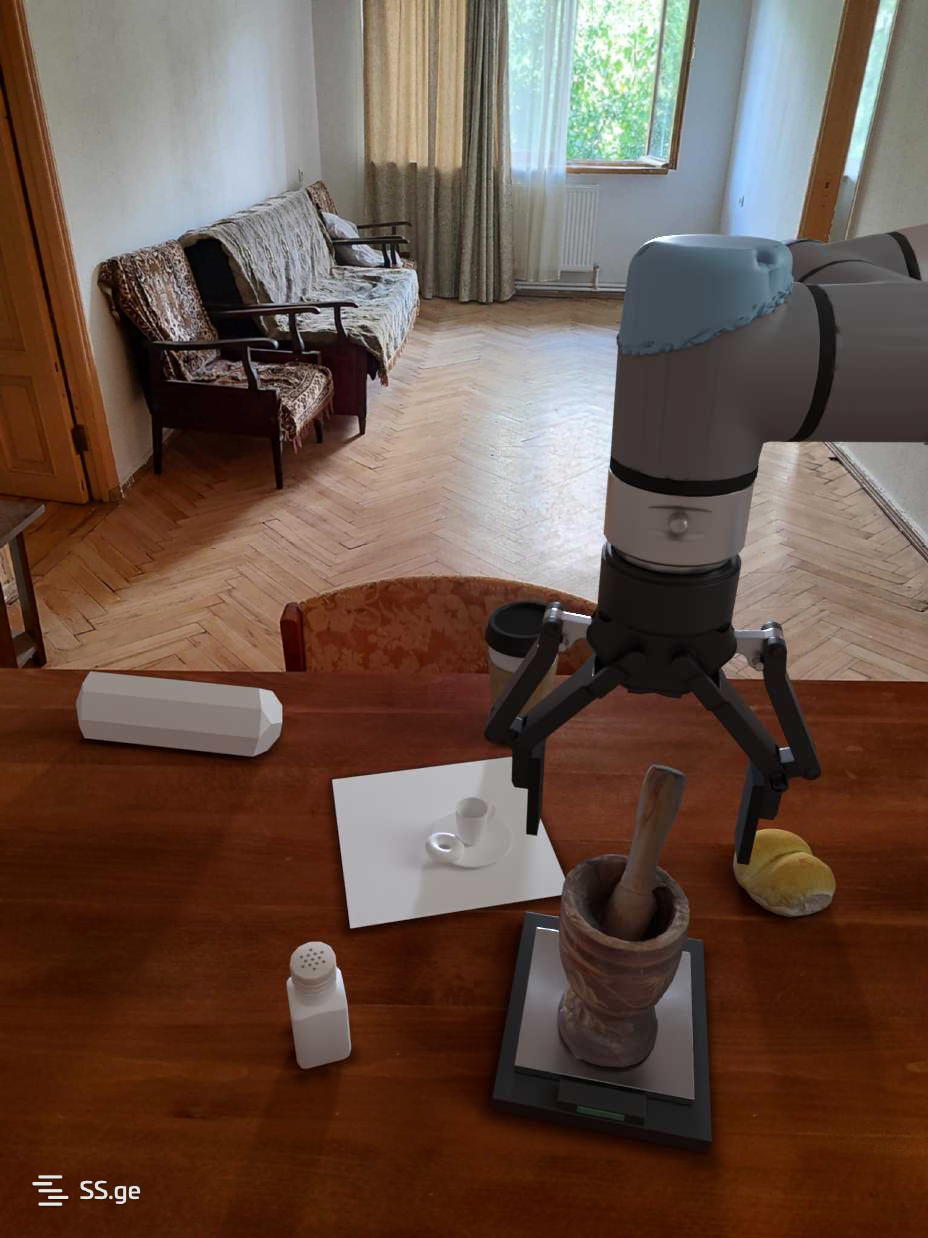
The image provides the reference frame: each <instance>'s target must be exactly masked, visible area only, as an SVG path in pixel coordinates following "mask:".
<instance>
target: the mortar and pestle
mask: <svg viewBox="0 0 928 1238" xmlns="http://www.w3.org/2000/svg"><path fill="white" fill-rule="evenodd" d="M686 779H687V777H686V775H685V773H683V772H682V771H681V770H678V769H676V768H672V767H670V766H666V765H663V764H651V765H650V767H649V768H648V769H647V771H646V773H645V775H644V779H643V783H642V786H641V790H640V794H639V798H638V805H637V808H636V815H635V821H634V829H633V835H632V840H631V844H630V849H629V855H626V854H618V853H616V854H615V853H614V854H613V853H612V854H610V853H609V854H602V855H599V856H596V857H593V858H587V859H585V860H582V861H581V862H580V863H579V864H577V865H575V866H574V867H573V868H572V869H571V870H570V871H569V872H568V873H567V875H566V876H565V881H564V884H563V889H562V894H561V895H560V897H561V898H560V908H559V909H560V910H559V915H560V916H559V917H560V924H559V951H560V958H561V962H562V965H563V968H564V970H565V974H566V977H567V980H568V982H569V984H570V985H569V986H568V987H567V988H566V990H565V992H564V993H563V995H562V997H561V1000H560V1002H559V1006H558V1024H559V1029H560V1032H561V1034H562V1037H563V1039H564V1041H565V1042H566V1044H567V1045H568V1047H569V1048H570V1049H571V1051H572V1052H573V1054H574V1055H575V1057H576V1058H577V1059H583V1060H585V1061H587V1062H589V1063H592V1064H596V1065H600V1066H610V1067H626V1066H630V1065H633V1064H637V1063H638V1062H640V1061H642V1060H643V1059H644V1058H645V1057H646V1056H647V1055H648V1053H649V1052H650V1051H651V1049H652V1048H653V1046H654V1043H655V1040H656V1036H657V1032H658V1020H657V1017H656V1012H655V1007H654V1006H655V1005H656V1004H657V1003H658V1002H659V1000H660V999H661V998H662V997H663V995H664V993H665V992H666V991H667V989H668V988H669V986H670V985H671V983H672V981H673V979H674V977H675V975H676V972H677V969H678V967H679V964H680V960H681V957H682V952H683V947H684V943H685V940H686V938H687V935H688V930H689V927H690V913H691V909H690V901H689V900H688V898H687V896H686V895H685V892H684V890H683V888H682V887H681V886H680V884H679V883H678V882H677V881H676V880H675V879H674V878H672V877H671V876H670V874H669V873H668V872H667V871H665V870H664V869H663V868H662V867H660V866H659V865H658V864H659V860H660V857H661V854H662V851H663V849H664V845H665V842H666V839H667V837H668V834H669V833H670V832H671V829H672V827H673V824H674V822H675V820H676V817H677V815H678V813H679V811H680V810H679V809H680V807H681V805H682V800H683V797H684V793H685V789H686V783H687V781H686Z"/></svg>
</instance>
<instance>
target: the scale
mask: <svg viewBox="0 0 928 1238" xmlns="http://www.w3.org/2000/svg"><path fill="white" fill-rule="evenodd" d="M559 924H560V916H554V915H548V914H542V913H536V912H535V913H534V912H529V911H525V913H524V918H523V925H522V929H521V930H522V931H521V935H520V942H519V945H518V952H517V958H516V964H515V969H514V974H513V980H512V985H511V991H510V997H509V1002H508V1007H507V1008H508V1010H507V1014H506V1020H505V1024H504V1031H503V1036H502V1042H501V1047H500V1051H499V1059H498V1063H497V1064H498V1065H497V1069H496V1075H495V1080H494V1086H493V1092H492V1097H491V1099H492V1101H491V1111H493V1112H498V1113H504V1114H508V1115H513V1116H519V1117H524V1118H529V1119H533V1120H539V1121H544V1122H548V1123H553V1124H558V1125H564V1126H568V1127H574V1128H577V1129H583V1130H588V1131H593V1132H597V1133H602V1134H607V1135H613V1136H617V1137H622V1138H627V1139H632V1140H638V1141H642V1142H648V1143H652V1144H656V1145H657V1144H658V1145H662V1146H667V1147H673V1148H677V1149H682V1150H688V1151H693V1152H697V1153H701V1154H702V1153H703V1154H706V1155H708V1154H709V1153H710V1150H711V1146H712V1143H713V1139H712V1135H713V1134H712V1115H711V1114H712V1113H711V1092H710V1066H709V1045H708V1044H709V1043H708V1042H709V1041H708V1019H707V1017H708V1016H707V997H706V995H707V994H706V970H705V969H706V968H705V949H704V945H705V944H704V940H703V939H696V938H690V937H686V940H685V943H684V947H683V951H684V952H690V953H691V987H692V1025H693V1063H694V1103H693V1106H690V1105H685V1104H680V1103H675V1102H670V1101H664V1100H659V1099H654V1098H649V1097H646V1096H644V1095H639V1094H634V1093H628V1092H623V1091H618V1090H613V1089H608V1088H602V1087H597V1086H592V1085H587V1084H582V1083H576V1082H571V1081H566V1080H556V1079H550V1078H545V1077H540V1076H535V1075H530V1074H524V1073H519V1072H515V1071H514V1064H515V1058H516V1052H517V1046H518V1039H519V1033H520V1027H521V1021H522V1015H523V1009H524V1002H525V996H526V990H527V984H528V978H529V972H530V965H531V959H532V953H533V947H534V941H535V934H536V928H537V927H538V928H544V929H550V930H556V931H559Z"/></svg>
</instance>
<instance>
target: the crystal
mask: <svg viewBox="0 0 928 1238" xmlns="http://www.w3.org/2000/svg"><path fill="white" fill-rule="evenodd" d="M75 706H76V712H77V713H76V714H77V720H78V727H79V729H80V731H81V733H82V735H83V738H84V739H90V740H98V741H100V740H101V741H107V742H115V743H127V744H135V745H145V746H153V747H163V748H171V749H182V750H190V751H200V752H207V753H208V752H209V753H218V754H227V755H234V756H242V757H243V756H244V757H245V756H246V757H256V756H258V755H260V754H263V753H265V752H267V751H269V749H270V748H271V747H272V746H273V745H274V743H275V742H276V741H277V740H278V739H279V738H280V736H281V732H282V726H283V704H282V703H281V701H280V700H279V699H278V697H277V696H276V694H275V693H274V691H272V690H269V689H264V688H260V687H252V686H251V687H249V686H241V685H232V684H231V685H230V684H222V683H221V684H219V683H210V682H200V681H190V680H182V679H181V680H180V679H169V678H160V677H149V676H141V675H140V676H139V675H129V674H120V673H112V672H111V673H109V672H99V671H92V670H91V671H89V673H88V674H87V676H86V677H85V679H84V681H83V682H82V684H81V687H80V689H79V692H78V696H77V697H76V701H75Z"/></svg>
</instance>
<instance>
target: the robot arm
mask: <svg viewBox="0 0 928 1238" xmlns="http://www.w3.org/2000/svg"><path fill="white" fill-rule="evenodd" d="M615 341H616V346H617V353H616V355H617V356H616V368H615V370H616V371H615V383H614V397H613V398H614V399H613V413H612V414H613V415H612V427H611V428H612V429H611V441H610V442H611V443H610V445H611V446H610V456H609V464H608V469H607V481H606V493H605V494H606V496H605V506H604V522H603V535H604V537H605V539H606V541H605V542H604V543H603V545H602V547H601V553H600V554H601V555H600V567H599V579H598V580H599V581H598V593H597V603H596V608H595V610H594V612H593V613H592V614H591V615H590V616H586V615H582V614H578V613H577V614H576V613H573V612H567V611H566V607H565V605H563V603H561V602H559V601H553V602H550V603H548V604H549V605H547V607H546V610H545V614H544V619H543V623H542V627H541V631H540V635H539V637H538V638H537V640H536V641H535V643H534V645H533V646H532V648H531V649H530V651H529V652H528V654H527V655H526V657H525V658H524V660H523V661H522V663H521V664H520V666H519V667H518V669H517V670H516V672H515V673H514V675H513V676H512V678H511V679H510V681H509V682H508V684H507V685H506V687H505V688H504V690H503V691H502V693H501V694H500V696H499V697H498V699H497V700H496V702H495V703H494V705H493V706H492V705H491V708H490V711H489V714H488V717H487V719H486V723H485V726H484V731H483V737H484V739H485V740H486V741H487V742H489V743H492V744H493V743H495V744H496V743H499V742H502V743H503V744H506V745H508V746H509V748H510V749H511V757H512V779H511V781H512V783H513V786H514V787H516V788H523V789H528V795H527V819H526V834H527V835H534V836H537V834H538V828H539V822H540V819H541V817H542V810H543V796H544V777H545V763H546V761H545V757H546V741H547V740H546V739H548V737H549V736H551V735H552V734H553V733H554V732H556V731H557V730H558V729H560V728H561V727H562V726H563V725H565V724H566V723H567V722H568V721H570V720H571V719H573V717H575V716H576V715H578V713H580V712H581V711H582V710H583V709H585V708H586V707H587V706H589V705H590V704H591V703H592V702H594V701H595V700H596V699H597V700H601V699H603V698H605V697H606V696H607V695H609V694H610V693H611V692H612V691H613V690H615V689H616V688H617V687H619V686H620V687H622V688H624V689H626V690H627V694H635V695H646V694H657V695H660V696H663V697H666V698H672V699H680V700H681V699H682V696H683V695H688V694H691V693H692V694H693V695H694V696H695V697H696V698H697V700H698V701H699V702H700V704H701V705H702V706H703V707H704V709H705V710H706V711H707V712H712V714H713V715H714V717H715V718H716V719H717V720H718V721H719V722H720V724H721V725H722V726H723V727H724V729H725V730H726V731H727V732H728V734H729V735H730V736H731V737H732V739H733V740H734V741H735V742H736V744H737V745H738V746H739V748H741V750H742V751H743V752H744V753H745V755H746V756H747V757H748V758H749V759H748V764H747V768H746V773H745V779H744V783H743V789H742V793H741V797H740V798H741V799H740V803H739V808H738V813H737V818H736V824H735V828H734V833H733V835H734V837H733V838H734V847H735V852H736V859H737V864H744V865H749V863H750V858H751V854H752V849H753V844H754V840H755V835H756V831H758V825H759V821H760V820H767V821H773V820H774V819H775V818H776V817H777V816H778V814H779V809H780V808H779V807H780V805H781V800H782V797H783V793H785V792H787V791H788V790H789V789H790V780H791V779H795V778H800V777H801V778H802V779H804V780H805V781H815V780H818V779H819V778H820V777H821V776H822V767H821V763H820V759H819V755H818V750H817V747H816V746H817V745H816V743H815V740H814V737H813V735H812V732H811V730H810V727H809V725H808V722H807V719H806V717H805V714H804V712H803V709H802V707H801V704H800V701H799V700H798V695H797V693H796V691H795V689H794V686H793V683H792V681H791V678H790V675H789V672H788V670H787V661H788V649H787V643H786V639H785V635H784V630H783V626H782V625H781V624H780V623H779V622H777V621H767V622H765V623H764V624H762V626H761V628H760V629H737V630H736V629H735V628H734V626H733V617H734V616H733V615H734V610H735V604H736V599H737V593H738V587H739V582H740V575H741V569H742V558H741V556H740V554H739V553H741V552H742V550H743V549H744V548H745V545H746V538H747V532H748V527H749V519H750V513H751V507H752V506H751V505H752V500H753V493H754V486H755V481H756V479H757V478H758V472H759V464H760V462H759V461H760V457H761V453H762V450H763V447H764V444H767V443H771V442H772V443H914V444H915V443H919V444H920V443H922V444H923V446H928V223H923V224H918V225H913V226H909V227H904V228H899V229H894V230H893V231H888V232H882V233H873V234H868V235H863V236H858V237H853V238H849V239H843V240H839V241H834V242H828V243H826V242H823V241H821V240H818V239H811V238H807V237H806V238H798V239H797V238H794V239H793V238H790V239H783V240H775V239H770V238H766V237H760V236H759V237H758V236H750V235H740V234H739V235H738V234H735V235H727V234H726V235H724V234H716V233H715V234H713V233H696V234H695V233H692V234H677V235H667V236H661V237H657V238H654V239H651V240H649V241H647V242H645V243H644V244H642V245H641V246H640V247H639V248H638V249H637V250H636V251H635V252H634V254H633V255H632V257H631V259H630V261H629V265H628V271H627V277H626V283H625V291H624V298H623V305H622V312H621V319H620V325H619V330H618V333H617V335H616V340H615ZM580 639H584V640H586V641H587V644H588V646H589V647H590V648H591V650H592V651H593V653H592V654H591V655H590V656H589V657H588V658H587V660H586V662H585V663H584V664H583V666H581V667H580V668H579V669H577V670H576V671H575V672H574V673H573V674H571V675H570V676H569V677H568V678H567V679H565V680H564V681H563V682H561V683H559V685H558V686H556V688H553V690H552V692H551V693H550V694H548V695H547V696H546V697H545V698H543V699H542V700H541V701H540V702H539V703H537V704H536V705H535V706H534V707H533V708H531V709H530V710H529V711H528V712H526V713H525V714H524V715H523V716H522V712H521V710H522V709H523V707H524V706H525V704H526V703H527V701H528V700H529V699H530V697H531V696H532V694H533V693H534V691H535V690H536V688H537V687H538V686H539V684H540V683H541V681H542V680H543V678H544V677H545V675H546V674H547V672H548V671H549V670H550V668H551V666H552V665H553V663H554V661H555V659H556V656H557V654H558V652H561V653H564V652H566V651H567V650H569V649H571V648H572V647H573V645H574V644H575V642H577V641H579V640H580ZM736 654H739V655H742V656H744V657H745V659H746V661H747V665H748V666H749V667H750V668H752V669H754V671H756V672H762V676H763V677H762V678H763V684H764V687H765V690H766V692H767V695H768V697H769V700H770V702H771V705H772V707H773V710H774V713H775V715H776V717H777V720H778V722H779V725H780V728H781V731H782V732H783V735H784V738H785V740H786V743H787V745H788V747H782V746H781V745H780V744H779V742H777V740H776V739H775V737H774V736H773V735H772V733H770V731H769V730H768V729H767V727H766V726H765V725H764V724H763V722H762V721H761V720H760V719H759V717H758V716H757V715H756V713H755V712H754V711H753V709H751V707H750V706H749V704H748V703H747V702H746V701H745V699H743V697H742V696H741V694H739V692H738V691H737V689H736V688H735V687H734V686H733V684H732V683H731V682H730V681H729V679H728V678H727V676H726V674H725V671H724V669H723V667H724V666H725V665H726V664H728V663H729V662H730V661H731V660H732V659H733V658H734V657H735V655H736ZM519 713H520V714H519ZM518 715H519V717H517V716H518Z"/></svg>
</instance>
